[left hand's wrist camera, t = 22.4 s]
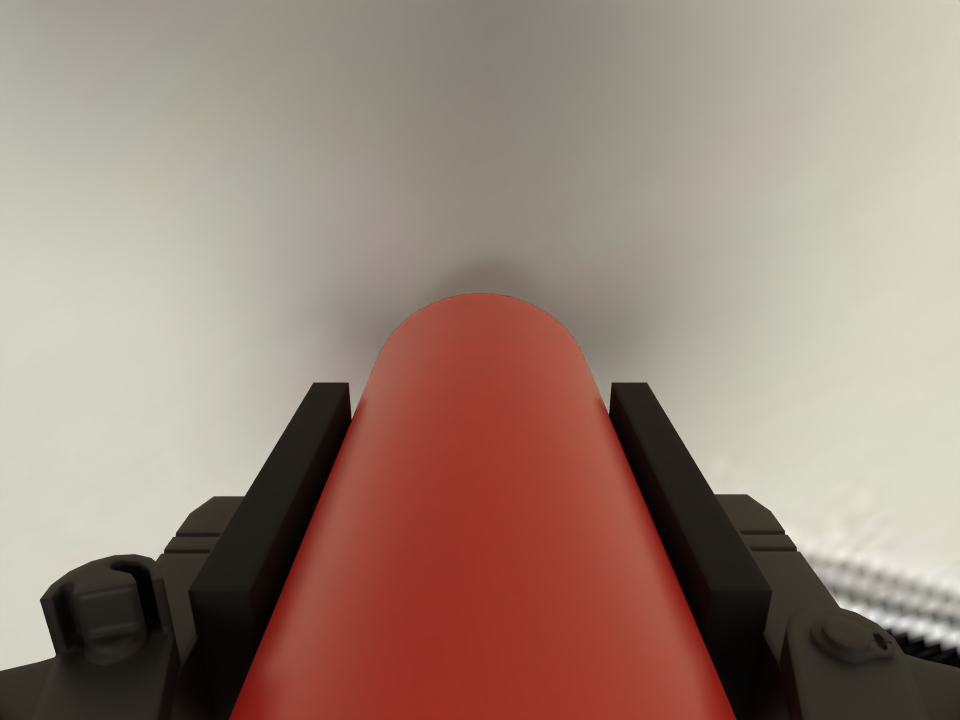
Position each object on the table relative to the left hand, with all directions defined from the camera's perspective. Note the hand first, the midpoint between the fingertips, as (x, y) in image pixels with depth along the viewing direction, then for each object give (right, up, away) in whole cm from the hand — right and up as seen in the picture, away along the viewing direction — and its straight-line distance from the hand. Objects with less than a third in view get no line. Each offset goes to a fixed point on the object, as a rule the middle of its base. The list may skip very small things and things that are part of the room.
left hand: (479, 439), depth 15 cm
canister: (0, +1, +2) cm, 2 cm away
